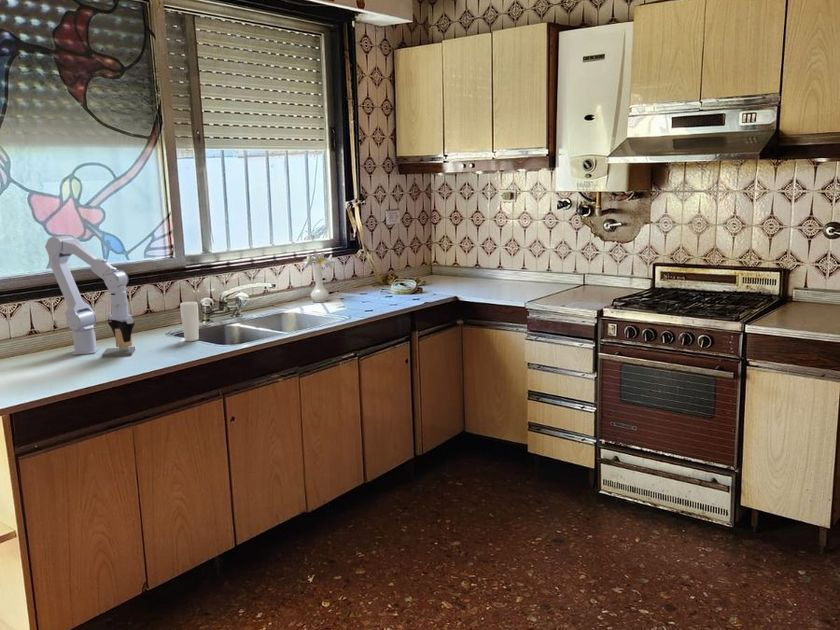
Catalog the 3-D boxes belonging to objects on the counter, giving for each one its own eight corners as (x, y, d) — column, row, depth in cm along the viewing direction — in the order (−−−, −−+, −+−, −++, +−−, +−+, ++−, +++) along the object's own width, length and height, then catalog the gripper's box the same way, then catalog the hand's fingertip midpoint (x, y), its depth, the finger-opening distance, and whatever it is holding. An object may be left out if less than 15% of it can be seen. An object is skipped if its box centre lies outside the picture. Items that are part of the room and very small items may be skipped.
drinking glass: (179, 340, 295) (176, 303, 292) (195, 337, 300) (191, 300, 297) (188, 342, 290) (185, 305, 288) (204, 339, 295) (200, 302, 293)
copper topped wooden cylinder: (113, 345, 274) (112, 328, 273) (127, 343, 278) (126, 326, 277) (120, 347, 271) (119, 330, 270) (134, 345, 275) (133, 328, 274)
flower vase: (340, 298, 384) (338, 250, 379) (321, 304, 368) (318, 254, 363) (319, 297, 390) (316, 250, 385) (299, 303, 373) (296, 254, 369)
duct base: (107, 351, 279) (105, 338, 278) (135, 349, 281) (133, 336, 280) (102, 357, 270) (100, 343, 269) (131, 355, 272) (129, 341, 271)
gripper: (139, 304, 270) (143, 341, 272) (120, 301, 279) (123, 336, 282) (120, 307, 264) (124, 344, 267) (101, 303, 274) (105, 339, 276)
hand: (123, 340), depth 274 cm, fingers closed on copper topped wooden cylinder, 5 cm apart
